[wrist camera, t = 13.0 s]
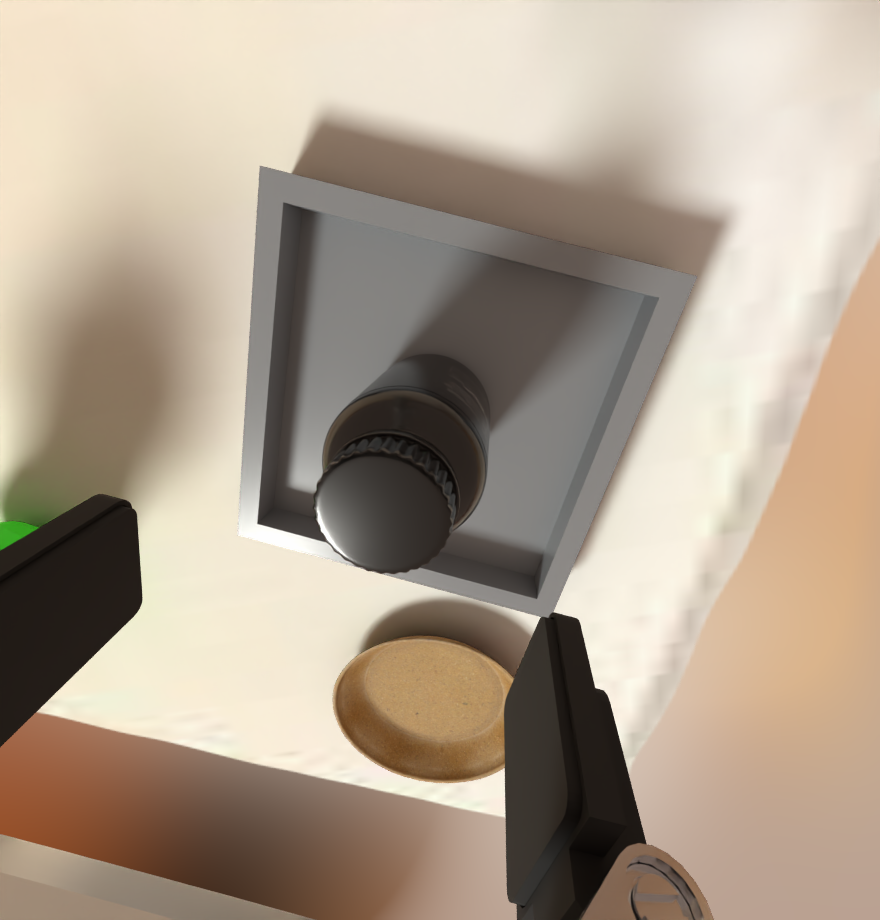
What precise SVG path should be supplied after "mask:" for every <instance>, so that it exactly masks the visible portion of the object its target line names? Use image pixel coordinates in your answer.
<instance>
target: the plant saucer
mask: <svg viewBox="0 0 880 920" xmlns="http://www.w3.org/2000/svg"><path fill="white" fill-rule="evenodd" d="M513 680H514V678H513V676H512V675H511V674H510V673H509V672H508V671H507V670H505V669H504V668H503V667H502V666H501V665H500V664H499V663H497V662H496V661H495V660H493V659H492V658H491V657H489V656H487V655H486V654H484V653H483V652H481V651H479V650H477V649H475V648H473V647H471V646H469V645H467V644H464V643H462V642H459V641H456V640H453V639H448V638H444V637H437V636H409V637H402V638H397V639H393V640H390V641H386V642H383V643H381V644H378V645H376V646H374V647H372V648H370V649H368V650H366V651H364V652H362V653H361V654H359V655H358V656H356V657H355V658H354V659H352V660H351V661H350V662H349V663H348V664H347V665H346V667H345V668H344V669H343V670H342V672H341V673H340V675H339V677H338V679H337V681H336V683H335V686H334V690H333V710H334V714H335V717H336V720H337V722H338V725H339V727H340V729H341V731H342V733H343V734H344V736H345V737H346V738H347V739H348V741H349V742H350V743H351V744H352V745H353V746H354V747H355V748H356V749H357V750H358V751H359V752H360V753H361V754H363V755H364V756H365V757H366V758H368V759H369V760H371V761H372V762H374V763H375V764H377V765H379V766H381V767H382V768H385V769H386V770H388V771H390V772H393V773H395V774H398V775H401V776H404V777H407V778H412V779H415V780H419V781H425V782H434V783H459V782H467V781H473V780H477V779H481V778H484V777H487V776H490V775H492V774H494V773H496V772H498V771H500V770H502V769H503V768H505V749H504V706H505V700H506V697H507V694H508V692H509V689H510V687H511V685H512V682H513Z"/></svg>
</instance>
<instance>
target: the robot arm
mask: <svg viewBox="0 0 880 920" xmlns="http://www.w3.org/2000/svg"><path fill="white" fill-rule="evenodd" d="M141 604H142V584H141V569H140V554H139V539H138V524H137V514H136V511H135V510H134V509H132V506H131V504H130V502H129V501H126V500H123V499H119V498H116V497H112V496H108V495H104V494H98V495H95V496H93V497H91V498H90V499H88V500H86V501H84V502H83V503H81V504H79V505H77V506H76V507H74V508H72V509H71V510H69V511H67V512H65V513H64V514H62V515H60V516H59V517H57V518H55V519H53V520H52V521H50V522H48V523H47V524H45V525H43V526H41V527H40V528H38V529H36V530H35V531H33V532H31V533H29V534H28V535H26V536H24V537H23V538H21V539H19V540H17V541H16V542H14V543H12V544H11V545H9V546H7V547H5V548H4V549H2V550H0V747H1V746H2V745H3V744H4V743H5V742H6V741H7V740H8V739H9V738H10V737H11V736H12V735H13V734H14V733H15V732H16V731H17V730H18V729H19V728H20V727H21V726H22V725H23V724H24V723H25V722H26V721H27V720H28V719H29V718H31V716H33V715H34V713H36V712H37V711H38V710H39V709H40V708H41V707H42V706H43V705H44V704H45V703H46V702H47V701H48V700H49V699H50V698H51V697H52V696H53V695H54V694H55V693H56V692H57V691H58V690H59V689H60V688H61V687H62V686H63V685H64V684H65V683H66V682H67V681H68V680H69V679H70V678H71V677H72V676H73V675H74V674H75V673H76V672H78V671H79V670H80V669H81V668H82V667H83V666H84V665H85V664H86V663H87V662H88V661H89V660H90V659H91V658H92V657H93V656H94V655H95V654H96V653H97V652H98V651H99V650H100V649H101V648H102V647H103V646H104V645H105V644H106V643H107V642H108V641H109V640H110V639H111V638H112V637H113V636H114V635H115V634H116V633H117V632H118V631H119V630H120V629H121V628H122V627H123V626H124V625H126V624H127V623H128V622H129V621H130V620H131V619H132V618H133V617H134V616H135V614H136V613H137V612H138V610H139V609H140V606H141ZM504 749H505V808H506V863H507V895H508V899H509V901H510V902H511V903H515V904H517V920H714V919H713V916H712V913H711V911H710V908H709V906H708V903H707V900H706V899H705V897H704V895H703V894H702V892H701V890H700V889H699V887H698V885H697V884H696V882H695V881H694V879H693V878H692V877H691V876H690V875H689V873H688V872H687V871H686V870H685V869H684V867H683V866H682V865H681V864H680V863H678V862H677V861H676V860H675V859H674V858H672V857H671V856H670V855H669V854H668V853H666V852H664V851H662V850H660V849H658V848H656V847H654V846H652V845H647V844H646V840H645V836H644V832H643V828H642V825H641V821H640V817H639V813H638V809H637V805H636V801H635V798H634V794H633V790H632V786H631V782H630V778H629V774H628V770H627V766H626V763H625V759H624V755H623V751H622V747H621V743H620V739H619V735H618V732H617V728H616V724H615V720H614V716H613V712H612V708H611V704H610V701H609V698H608V696H607V694H606V693H605V692H604V691H603V690H600V689H597V688H595V686H594V681H593V677H592V673H591V668H590V664H589V660H588V655H587V651H586V647H585V642H584V638H583V634H582V629H581V625H580V622H579V620H578V619H577V618H573V617H569V616H566V615H562V614H558V613H554V612H552V613H551V614H550V615H549V617H548V618H547V617H541V618H540V620H539V622H538V624H537V627H536V629H535V631H534V634H533V636H532V638H531V641H530V643H529V645H528V648H527V650H526V652H525V654H524V657H523V659H522V661H521V664H520V666H519V668H518V671H517V673H516V675H515V678H514V680H513V682H512V685H511V687H510V689H509V692H508V694H507V697H506V700H505V706H504ZM0 920H314V919H310V918H307V917H303V916H300V915H296V914H293V913H289V912H285V911H282V910H278V909H274V908H271V907H267V906H264V905H260V904H256V903H252V902H249V901H246V900H242V899H238V898H235V897H231V896H228V895H224V894H220V893H216V892H213V891H209V890H205V889H202V888H198V887H194V886H190V885H187V884H183V883H180V882H176V881H172V880H168V879H165V878H161V877H158V876H154V875H150V874H147V873H143V872H139V871H135V870H132V869H128V868H124V867H121V866H117V865H113V864H110V863H106V862H102V861H98V860H95V859H91V858H87V857H83V856H80V855H76V854H72V853H69V852H65V851H62V850H58V849H54V848H50V847H47V846H43V845H39V844H35V843H31V842H28V841H24V840H20V839H16V838H13V837H9V836H5V835H1V834H0Z"/></svg>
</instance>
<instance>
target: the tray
mask: <svg viewBox="0 0 880 920" xmlns="http://www.w3.org/2000/svg"><path fill="white" fill-rule="evenodd" d="M696 279H697V276H695V275H691V274H687V273H683V272H679V271H675V270H671V269H667V268H663V267H659V266H655V265H651V264H647V263H643V262H639V261H635V260H631V259H627V258H623V257H620V256H616V255H612V254H608V253H604V252H600V251H596V250H592V249H588V248H584V247H580V246H576V245H572V244H568V243H564V242H560V241H556V240H552V239H548V238H544V237H540V236H536V235H532V234H528V233H525V232H521V231H517V230H513V229H509V228H505V227H501V226H497V225H493V224H489V223H485V222H481V221H477V220H473V219H469V218H465V217H461V216H457V215H453V214H449V213H445V212H441V211H437V210H433V209H430V208H426V207H422V206H418V205H414V204H410V203H406V202H402V201H398V200H394V199H390V198H386V197H382V196H378V195H374V194H370V193H366V192H362V191H358V190H354V189H350V188H346V187H342V186H338V185H334V184H331V183H327V182H323V181H319V180H315V179H311V178H307V177H303V176H299V175H295V174H291V173H287V172H283V171H279V170H275V169H271V168H267V167H263V166H260V172H259V188H258V205H257V221H256V238H255V254H254V270H253V287H252V303H251V320H250V336H249V353H248V369H247V385H246V402H245V418H244V435H243V451H242V467H241V484H240V500H239V517H238V533H237V535H239V536H242V537H246V538H250V539H254V540H257V541H261V542H265V543H268V544H272V545H276V546H280V547H283V548H287V549H291V550H294V551H298V552H302V553H306V554H309V555H313V556H317V557H320V558H324V559H328V560H332V561H335V562H339V563H343V564H346V565H350V566H354V567H356V566H355V565H353V564H352V563H351V562H349V561H346V560H344V559H343V558H342V557H341V555H339V554H337V553H336V552H334V550H333V549H332V547H331V546H330V545H329V544H327V543H326V541H325V538H324V536H323V535H322V534H321V533H320V532H319V525H318V524H317V523H316V521H315V512H314V510H313V504H314V498H313V494H314V492H315V491H316V490H317V489H316V486H317V482H318V480H319V479H320V478H321V477H322V474H323V468H322V453H323V446H324V442H325V439H326V436H327V433H328V431H329V429H330V426H331V425H332V423H333V422H334V420H335V419H336V417H337V416H338V415H339V414H340V412H341V411H342V410H343V409H344V408H345V407H346V406H347V405H348V404H349V403H350V402H351V401H352V400H354V399H355V398H356V397H357V396H358V395H359V394H360V393H361V392H362V391H364V390H365V389H366V388H367V387H368V386H369V385H370V384H371V383H373V382H374V381H375V380H376V379H377V378H378V377H379V376H380V375H382V374H383V373H384V372H385V371H386V370H387V369H389V368H390V367H391V366H392V365H394V364H395V363H397V362H399V361H401V360H403V359H405V358H408V357H410V356H414V355H419V354H438V355H443V356H446V357H449V358H452V359H454V360H456V361H458V362H460V363H462V364H463V365H465V366H466V367H467V368H468V369H470V370H471V371H472V372H473V373H474V374H475V375H476V377H477V378H478V379H479V381H480V382H481V384H482V385H483V387H484V389H485V391H486V394H487V397H488V400H489V405H490V420H491V421H490V438H489V454H488V470H487V479H486V485H485V489H484V492H483V495H482V498H481V500H480V502H479V504H478V506H477V508H476V509H475V511H474V512H473V513H472V515H471V516H470V517H469V518H468V519H467V520H466V521H465V522H464V523H463V524H462V525H461V526H460V527H458V528H457V529H456V530H454V531H453V532H452V533H451V535H450V536H449V538H448V539H447V544H446V546H445V547H444V548H442V549H441V550H440V552H439V555H438V556H436V557H434V558H432V559H431V561H430V562H429V563H428V564H425V565H422V566H421V567H420V568H419V569H416V570H410V571H409V572H407V573H400V572H399V573H397V574H389V573H384V575H387V576H391V577H395V578H398V579H402V580H406V581H410V582H413V583H417V584H421V585H424V586H428V587H432V588H436V589H439V590H443V591H447V592H450V593H454V594H458V595H462V596H465V597H469V598H473V599H476V600H480V601H484V602H488V603H491V604H495V605H499V606H502V607H506V608H510V609H513V610H517V611H521V612H525V613H528V614H532V615H536V616H539V617H547V618H548V617H549V615H550V614H551V613H552V612H553V611H554V609H555V607H556V604H557V602H558V600H559V597H560V595H561V593H562V590H563V588H564V586H565V584H566V581H567V579H568V577H569V574H570V572H571V570H572V567H573V565H574V563H575V560H576V558H577V556H578V553H579V551H580V549H581V546H582V544H583V542H584V539H585V537H586V535H587V532H588V530H589V528H590V525H591V523H592V521H593V518H594V516H595V514H596V511H597V509H598V507H599V504H600V502H601V500H602V497H603V495H604V493H605V490H606V488H607V486H608V483H609V481H610V479H611V476H612V474H613V472H614V469H615V467H616V465H617V462H618V460H619V458H620V455H621V453H622V451H623V449H624V446H625V444H626V442H627V439H628V437H629V435H630V432H631V430H632V428H633V425H634V423H635V421H636V418H637V416H638V414H639V411H640V409H641V407H642V404H643V402H644V400H645V397H646V395H647V393H648V390H649V388H650V386H651V383H652V381H653V379H654V376H655V374H656V372H657V369H658V367H659V365H660V362H661V360H662V358H663V355H664V353H665V351H666V348H667V346H668V344H669V341H670V339H671V337H672V334H673V332H674V330H675V327H676V325H677V323H678V320H679V318H680V316H681V314H682V311H683V309H684V307H685V304H686V302H687V300H688V297H689V295H690V293H691V290H692V288H693V286H694V283H695V281H696ZM358 568H361V569H364V568H362V567H358ZM372 572H375V571H372ZM376 573H377V572H376Z"/></svg>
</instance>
